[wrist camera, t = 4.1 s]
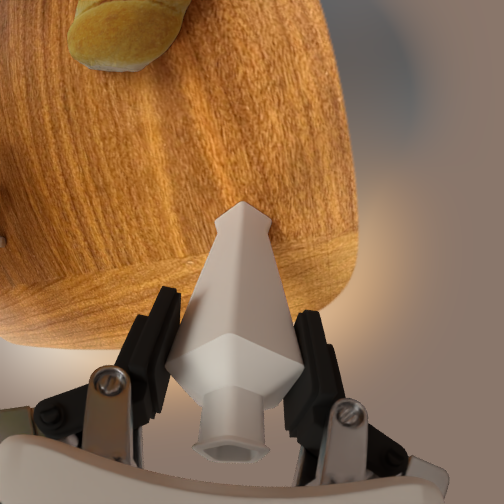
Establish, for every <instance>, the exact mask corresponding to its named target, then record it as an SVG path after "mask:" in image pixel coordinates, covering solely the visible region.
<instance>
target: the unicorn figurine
mask: <svg viewBox="0 0 504 504" xmlns="http://www.w3.org/2000/svg"><path fill="white" fill-rule="evenodd" d="M5 244H6V241H5V238H4V237H0V247H5Z"/></svg>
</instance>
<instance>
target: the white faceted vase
mask: <svg viewBox="0 0 504 504" xmlns="http://www.w3.org/2000/svg"><path fill="white" fill-rule="evenodd" d="M271 224H272V220H271V219H270V218H269V217H267V216H266V215H264V214H263V213H261V212H260V211H258V210H257V209H255V208H254V207H252V206H251V205H249V204H248V203H246V202H244V201H241V202H239V203H238V204H236V205H235V206H234V207H232V208H231V209H229V210H228V211H227V212H225V213H224V214H223V215H221V216H220V217H219V218H217V219H216V220H215V226H216V229H217V233H218V234H217V236H216V238H215V241H214V243H213V245H212V248H211V250H210V252H209V255H208V257H207V260H206V262H205V264H204V267H203V269H202V272H201V274H200V276H199V279H198V281H197V284H196V286H195V289H194V291H193V294H192V296H191V299H190V301H189V304H188V306H187V309H186V311H185V314H184V316H183V319H182V321H181V324H180V326H179V329H178V332H177V334H176V337H175V339H174V342H173V345H172V347H171V350H170V353H169V355H168V358H167V361H166V363H165V368H166V370H167V371H168V372H169V373H170V374H171V375H172V377H173V378H174V379H175V380H176V381H177V382H178V384H179V385H180V386H181V387H182V388H183V389H184V390H185V391H186V392H187V393H188V394H189V396H190V397H192V398H193V400H194V401H195V402H196V403H197V404H198V405H199V406H201V407H202V414H201V422H200V430H199V438H198V442H197V443H196V444H194V445H193V446H192V449H193V450H194V451H196V452H197V453H199V454H200V455H202V456H203V457H205V458H206V459H207V460H210V461H212V462H219V463H256V462H258V461H259V460H260V459H262V458H263V457H264V456H265V455H266V454H268V453H269V451H270V449H269V448H268V447H267V446H266V445H265V439H264V410H266V409H271V408H275V407H276V406H278V404H279V403H280V402H281V401H282V399H283V398H284V397H285V395H286V394H287V393H288V391H289V390H290V389H291V387H292V386H293V385H294V383H295V382H296V381H297V379H298V378H299V377H300V375H301V373H302V372H303V370H304V368H305V367H304V363H303V359H302V356H301V352H300V348H299V344H298V341H297V337H296V333H295V329H294V326H293V322H292V318H291V315H290V311H289V307H288V304H287V300H286V297H285V293H284V289H283V286H282V282H281V279H280V275H279V272H278V268H277V265H276V261H275V257H274V254H273V250H272V247H271V244H270V240H269V237H268V232H269V229H270V226H271Z"/></svg>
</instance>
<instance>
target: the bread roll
mask: <svg viewBox="0 0 504 504" xmlns="http://www.w3.org/2000/svg"><path fill="white" fill-rule="evenodd" d="M191 1H192V0H79V2H78V5H77V9H76V14H75V18H74V22H73V23H72V25H71V27H70V29H69V31H68V33H67V39H68V40H67V42H68V49H69V52H70V54H71V56H72V57H73V58H74V59H75V60H77V61H79V62H80V63H82V64H84V65H85V66H86V67H88V68H89V69H94V70H103V71H116V72H125V71H130V72H137V71H140V70H142V69H143V68H144V67H145V66H147V65H148V64H149V63H151V62H152V61H153V60H155V59H157V58H158V57H159V56H161V55H162V54H163V53H164V52H165V51H166V50H167V49H168V48H169V47H170V45H171V44H172V43H173V41H174V40H175V38H176V37H177V35H178V33H179V31H180V28H181V25H182V21H183V17H184V14H185V12H186V9H187V7H188V5H189V4H190V3H191Z"/></svg>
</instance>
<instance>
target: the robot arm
mask: <svg viewBox="0 0 504 504" xmlns="http://www.w3.org/2000/svg"><path fill="white" fill-rule="evenodd" d="M180 307H181V293H177V290H176V288H171V287H165V286H162V288H161V290H160V292H159V294H158V296H157V298H156V301H155V303H154V305H153V307H152V309H151V312H150V314H149V316H144V315H140V314H139V315H137V317H136V319H135V321H134V323H133V325H132V327H131V329H130V331H129V333H128V336H127V338H126V340H125V342H124V344H123V346H122V349H121V351H120V353H119V355H118V358H117V360H116V362H115V364H114V366H113V365H106V366H102V367H99V368H98V369H96V370H95V371H94V372H93V373H92V375H91V377H90V379H89V384H86V385H84V386H81V387H78V388H75V389H73V390H70V391H67V392H64V393H62V394H59V395H56V396H53V397H50V398H47V399H44V400H42V401H40V402H39V403H38V404H37V405H36V407H35V408H30V407H29V406H24V407H18V408H10V409H3V410H0V504H445V501H444V498H445V495H446V492H447V489H448V485H449V475H448V473H447V471H446V470H444V469H443V468H441V467H438V466H435V465H433V464H431V463H429V462H426V461H424V460H422V459H420V458H417V457H415V456H413V455H412V456H410V457H409V456H408V455H407V452H406V451H405V449H404V448H403V447H402V446H401V445H399V444H398V443H396V442H395V441H393V440H392V439H390V438H389V437H387V436H386V435H384V434H383V433H382V432H380V431H379V430H377V429H376V428H375V427H373V426H372V425H370V424H369V423H368V414H367V411H366V409H365V407H364V406H363V405H362V404H361V403H360V402H358V401H357V400H354V399H351V398H346V397H345V393H344V388H343V384H342V380H341V375H340V371H339V367H338V363H337V359H336V355H335V351H334V348H333V346H332V345H331V344H327V342H326V339H325V334H324V330H323V326H322V322H321V318H320V314H319V312H318V311H311V310H304V311H303V313H299V314H298V316H297V319H296V322H295V324H294V329H295V333H296V337H297V341H298V344H299V348H300V352H301V356H302V359H303V363H304V367H305V368H304V370H303V372H302V373H301V375H300V377H299V378H298V379H297V381H296V382H295V383H294V385H293V386H292V387H291V389H290V390H289V391H288V393H287V394H286V395H285V397H284V398H283V400H284V401H283V402H284V420H285V430H289V434H290V437H297V442H298V443H299V444H301V447H300V452H299V457H298V462H297V466H296V470H295V475H294V479H293V483H292V487H259V486H257V487H256V486H241V485H228V484H219V483H211V482H204V481H197V480H191V479H185V478H180V477H175V476H169V475H164V474H160V473H156V472H152V471H148V470H144V461H143V441H142V426H143V425H145V424H147V423H149V420H150V418H151V419H154V418H155V414H156V413H161V410H162V406H163V402H164V398H165V395H166V391H167V387H168V383H169V379H170V375H171V374H170V373H169V372H168V371H167V370H166V368H165V363H166V361H167V358H168V355H169V353H170V350H171V347H172V345H173V342H174V339H175V337H176V334H177V332H178V329H179V326H180Z"/></svg>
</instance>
